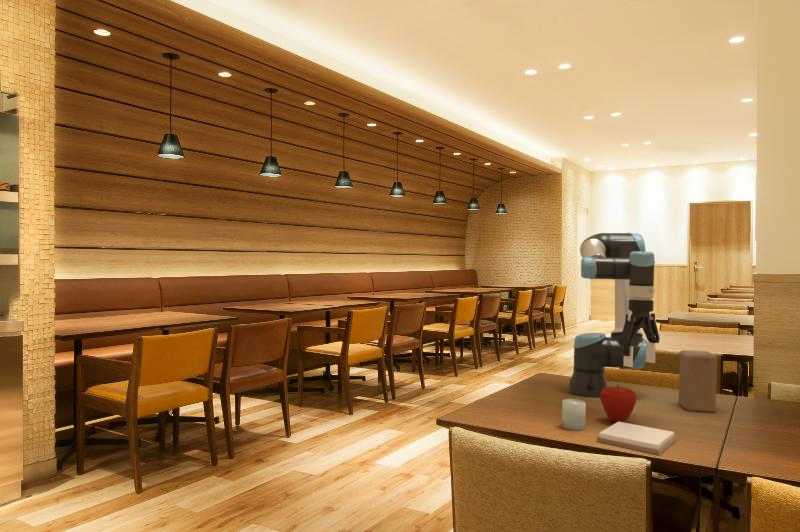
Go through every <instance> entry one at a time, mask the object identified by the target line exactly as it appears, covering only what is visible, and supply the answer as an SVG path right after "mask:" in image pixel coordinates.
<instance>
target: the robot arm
mask: <svg viewBox="0 0 800 532" xmlns="http://www.w3.org/2000/svg"><path fill="white" fill-rule="evenodd" d="M579 252H580V256H581V261H580V277H581V278H583V279H589V280H614V329H613V330H612V331H611V332H610V336H606V333H604V332H588V333H581V334H578V335H576V336H575V337H574V340H573V342H574V343H573V370H572V375H571V377H570V381H569V383H568V387H567V388H568V392H569V393H570V394H573V395H577V396H582V397H591V398H593V397H594V398H600V392H601V391H602V390H603V389H604V388H605V387H609V386H608V382H607V378H606V375H605V371H606V370H605V368H615V369H629V370H631V369H635V370H636V369H637V370H639V369H642V368H643V367H644V366H645V363H652V364H655V363H656V345H657V344H659V343H660V334H659V329H658V326H657V322H656V314H655V313H654V312H653V311H654V303H655V302H654V300H652V299H653V298H654V296H655V295H654V293H655V289H654V286H655V285H654V284H655V264H656V261H655V253H654V252H653V251H646V244H645V240H644V238H643V236H642V234H641V233H632V232H609V233H608V232H607V233H606V232H600V233H595V234H593V235H590V236H589V237H587V238H585V239H584V240H583V241H582V242H581V244H580V247H579ZM641 329H642V331H643V332H644V335H645V338H644V337H643V333H642V331H640V330H641Z"/></svg>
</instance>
